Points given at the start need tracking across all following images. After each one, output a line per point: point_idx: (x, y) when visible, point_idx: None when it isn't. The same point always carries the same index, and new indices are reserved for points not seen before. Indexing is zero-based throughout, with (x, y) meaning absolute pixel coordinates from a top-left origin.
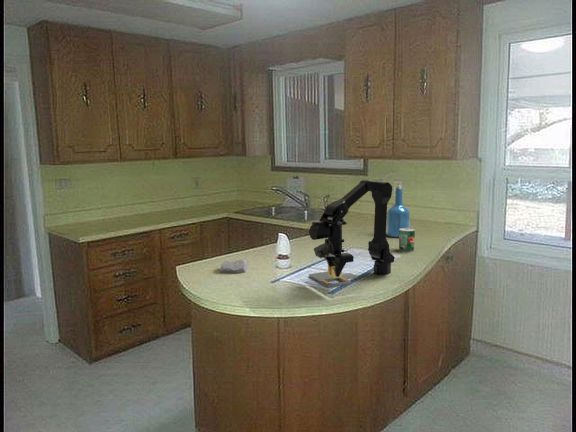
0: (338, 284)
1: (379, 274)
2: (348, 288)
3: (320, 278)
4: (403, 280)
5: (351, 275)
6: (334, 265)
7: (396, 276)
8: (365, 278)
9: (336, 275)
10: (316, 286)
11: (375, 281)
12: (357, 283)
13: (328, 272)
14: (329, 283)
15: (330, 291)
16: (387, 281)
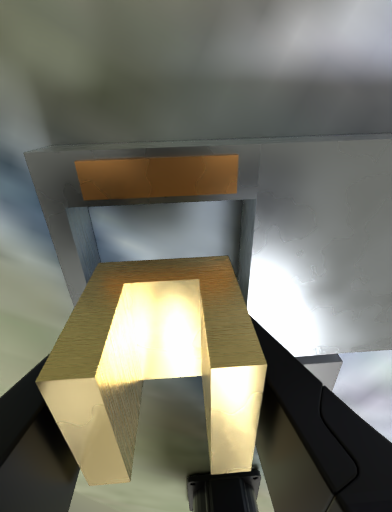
0: (67, 269)
1: (205, 491)
2: (65, 311)
3: (316, 186)
4: (121, 509)
5: None
6: (248, 451)
7: (181, 507)
8: None
9: None
10: (226, 77)
11: (151, 450)
12: (154, 386)
13: (221, 287)
14: (83, 190)
15: (6, 143)
16: None
